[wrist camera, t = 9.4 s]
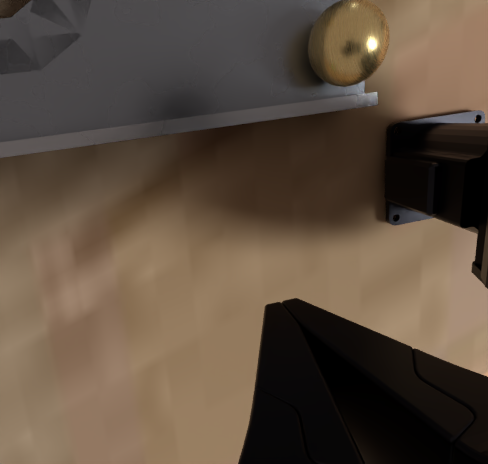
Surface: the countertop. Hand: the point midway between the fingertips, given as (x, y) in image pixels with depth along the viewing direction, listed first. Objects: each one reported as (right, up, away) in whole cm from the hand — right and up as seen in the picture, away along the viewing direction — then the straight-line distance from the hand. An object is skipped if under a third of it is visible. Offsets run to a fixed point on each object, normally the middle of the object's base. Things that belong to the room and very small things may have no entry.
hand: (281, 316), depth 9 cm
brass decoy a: (+4, +10, +6) cm, 13 cm away
